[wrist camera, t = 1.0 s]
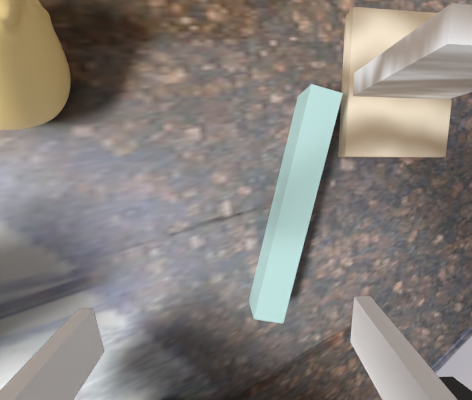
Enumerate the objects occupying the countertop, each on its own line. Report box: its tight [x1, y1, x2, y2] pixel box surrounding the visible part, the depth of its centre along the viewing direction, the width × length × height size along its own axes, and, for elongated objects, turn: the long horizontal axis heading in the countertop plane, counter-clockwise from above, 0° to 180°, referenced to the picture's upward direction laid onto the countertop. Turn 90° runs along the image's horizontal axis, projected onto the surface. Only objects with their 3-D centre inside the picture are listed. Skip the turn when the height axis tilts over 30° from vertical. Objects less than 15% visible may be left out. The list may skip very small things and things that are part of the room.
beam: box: [249, 84, 343, 323], centre depth 26 cm, size 26×4×4 cm, turn 167°
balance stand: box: [338, 3, 472, 158], centre depth 22 cm, size 16×13×12 cm
